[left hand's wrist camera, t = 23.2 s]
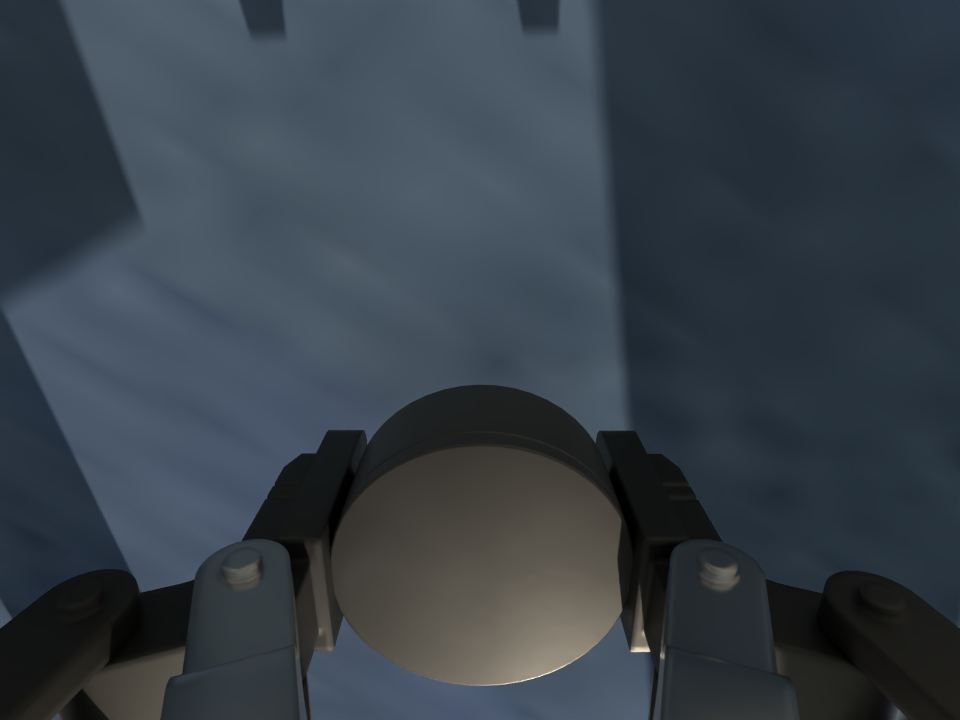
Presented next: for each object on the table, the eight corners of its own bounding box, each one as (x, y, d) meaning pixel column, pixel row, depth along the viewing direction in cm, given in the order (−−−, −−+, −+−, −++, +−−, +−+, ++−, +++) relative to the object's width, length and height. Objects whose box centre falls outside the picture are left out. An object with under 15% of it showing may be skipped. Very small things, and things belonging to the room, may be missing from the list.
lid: (378, 356, 10) (354, 412, 8) (644, 416, 11) (680, 481, 9) (337, 572, 12) (309, 659, 10) (566, 615, 12) (582, 707, 10)
